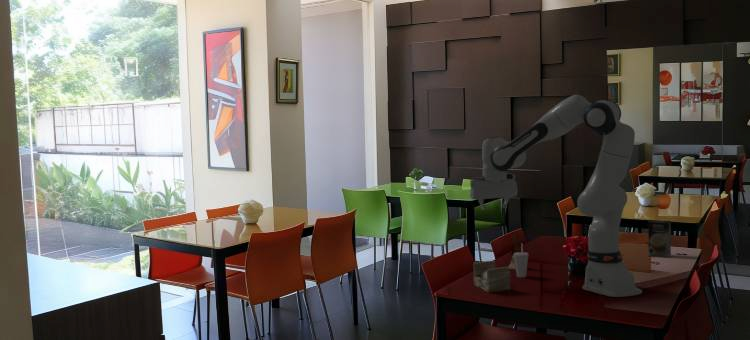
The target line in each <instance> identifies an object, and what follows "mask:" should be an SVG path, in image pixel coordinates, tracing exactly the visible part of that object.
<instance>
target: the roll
mask: <svg viewBox="0 0 750 340" xmlns="http://www.w3.org/2000/svg"><path fill="white" fill-rule="evenodd" d="M481 278H482V279H484V280H486V281H487V270H485V271H483V272H482V274H481Z"/></svg>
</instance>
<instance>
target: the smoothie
mask: <svg viewBox="0 0 750 340" xmlns="http://www.w3.org/2000/svg"><path fill="white" fill-rule="evenodd" d="M520 245H521V246H520V247H521V252H517V253H515V252H514V253H512V254H513V255H512V256H514V260H515V266H516V270H515V271H516V272H515V273H516V277H517V278H526V277H527V270H528V261H529V253H528V252H525V251H524V249H523V248H524V246H523V243H522V242H521V243H520Z"/></svg>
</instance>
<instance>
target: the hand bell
mask: <svg viewBox="0 0 750 340" xmlns="http://www.w3.org/2000/svg"><path fill="white" fill-rule="evenodd" d="M512 239H513V245H514V253H517V252H519V251H520V250H519V249H520V248H519V245H520V236H519V234H518V232H517V231H516V232H514V235H513V237H512ZM507 267H509V269H510V270H511V269H514V270H513V271H516V266H515V260H514V256H513V255H512V256H511V261H510V263H509V264H508V266H507Z"/></svg>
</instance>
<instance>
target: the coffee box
mask: <svg viewBox="0 0 750 340" xmlns="http://www.w3.org/2000/svg"><path fill="white" fill-rule="evenodd" d="M671 225H672V221H670V220H655V219H650V220H649V221H648V228H647V229H648V230H647V231H648V233H647V235H648V239H647V240H648V243H647V244H648V245H647V248H648V250H647V251H648V253H647V254H648V255H647V256H648V257H656V258H670V257H671V255H672V253H671V250H672V249H671V247H672V246H671V242H672V241H671V239H672V237H671V236H672V235H671V234H672V233H671V230H672V226H671Z"/></svg>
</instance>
